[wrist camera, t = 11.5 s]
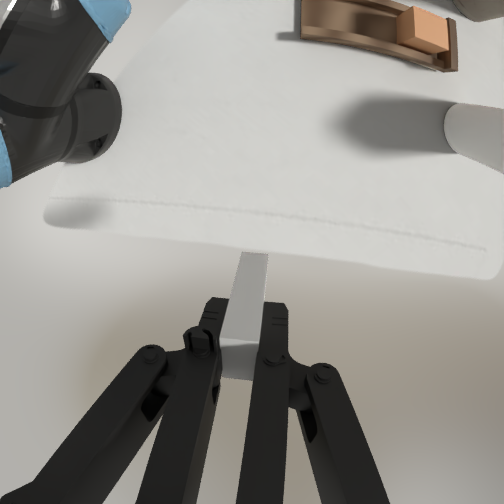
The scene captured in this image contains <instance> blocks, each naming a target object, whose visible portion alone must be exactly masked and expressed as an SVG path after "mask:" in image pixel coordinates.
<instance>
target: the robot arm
mask: <svg viewBox="0 0 504 504" xmlns="http://www.w3.org/2000/svg"><path fill="white" fill-rule="evenodd" d="M130 13H131V4H130V2H129V0H0V188H3V187H8V186H9V185H10V184H12V183H14V182H15V181H17V180H19V179H21V178H23V177H25V176H27V175H29V174H31V173H33V172H35V171H38V170H40V169H42V168H44V167H46V166H49V165H51V164H53V163H55V162H70V163H83V162H87V161H90V160H92V159H95V158H97V157H99V156H101V155H102V154H103V153H105V152H106V151H107V150H108V148H109V147H110V146H111V145H112V143H113V142H114V140H115V138H116V136H117V133H118V131H119V127H120V123H121V116H122V106H121V99H120V96H119V93H118V90H117V88H116V87H115V85H114V84H113V82H112V81H111V80H110V79H109V78H107V77H106V76H104V75H102V74H98V73H88V72H89V70H90V69H91V67H92V66H93V65H94V63H95V61H96V60H97V59H98V57H99V56H100V55H101V53H102V52H103V51H104V49H105V48H106V47H107V45H108V44H109V43H111V42H112V41H113V37H114V35H115V34H116V33H117V31H118V30H119V29H120V28H121V26H122V25H123V24H124V22H125V21H126V20H127V19H128V17H129V15H130ZM267 264H268V254H262V253H250V252H242V253H241V257H240V261H239V265H238V268H237V272H236V276H235V280H234V284H233V287H232V291H231V295H230V299H225V298H216V297H212V298H211V299H210V300H209V301H208V302H207V303H206V306H205V308H204V312H203V314H202V317H201V320H200V322H199V325H198V326H195V327H192V328H190V329H188V330H187V331H186V332H185V333H184V334H183V339H184V343H185V348H184V349H182V350H178V351H170V352H169V351H168V352H165V351H164V349H163V348H162V347H160V346H158V345H146V346H144V347H142V348H141V349H139V350H138V351H137V353H136V354H135V355H134V356H133V357H132V358H131V359H130V361H129V362H128V363H127V364H126V366H125V367H124V368H123V369H122V370H121V371H120V373H119V374H118V375H117V376H116V377H115V379H114V380H113V381H112V382H111V384H110V385H109V386H108V387H107V388H106V389H105V391H104V392H103V393H102V394H101V396H100V397H99V398H98V399H97V400H96V402H95V403H94V404H93V405H92V407H91V408H90V409H89V410H88V411H87V413H86V414H85V415H84V416H83V418H82V419H81V420H80V421H79V423H78V424H77V425H76V426H75V428H74V429H73V430H72V431H71V433H70V434H69V435H68V436H67V438H66V439H65V440H64V441H63V443H62V444H61V445H60V447H59V448H58V449H57V450H56V452H55V453H54V454H53V456H52V457H51V458H50V459H49V461H48V462H47V463H46V465H45V466H44V467H43V469H42V470H41V471H40V472H39V474H38V475H37V476H36V478H35V479H34V480H33V481H32V482H30V483H28V484H26V485H24V486H22V487H20V488H18V489H16V490H14V491H12V492H10V493H7V494H5V495H4V496H2V497H1V499H0V504H102V503H103V502H104V501H105V499H106V498H107V496H108V495H109V493H110V492H111V490H112V489H113V487H114V486H115V484H116V483H117V482H118V480H119V479H120V477H121V476H122V474H123V473H124V471H125V470H126V468H127V467H128V465H129V464H130V463H131V461H132V460H133V458H134V457H135V455H136V454H137V452H138V451H139V449H140V448H141V446H142V445H143V443H144V442H145V440H146V438H147V437H148V436H149V434H150V433H151V431H152V430H153V428H154V427H155V425H156V424H157V422H158V421H159V419H160V417H161V416H162V415H163V417H162V420H161V423H160V426H159V429H158V432H157V435H156V438H155V442H154V444H153V448H152V451H151V454H150V457H149V460H148V464H147V467H146V471H145V474H144V477H143V481H142V484H141V487H140V490H139V494H138V497H137V500H136V503H135V504H196V502H197V497H198V492H199V488H200V483H201V478H202V473H203V468H204V463H205V459H206V454H207V449H208V444H209V440H210V434H211V430H212V425H213V421H214V416H215V411H216V406H217V402H218V397H219V392H220V379H221V374H222V377H226V378H234V379H242V380H251V381H253V385H252V393H251V401H250V408H249V416H248V423H247V430H246V437H245V444H244V445H245V446H244V452H243V458H242V465H241V472H240V479H239V486H238V492H237V499H236V504H283V495H284V481H285V465H286V448H287V428H288V407H290V408H293V409H296V412H297V416H298V419H299V423H300V426H301V430H302V434H303V437H304V441H305V444H306V448H307V452H308V455H309V459H310V463H311V466H312V470H313V474H314V477H315V481H316V485H317V488H318V492H319V496H320V499H321V503H322V504H390V502H389V500H388V497H387V494H386V491H385V488H384V486H383V483H382V480H381V477H380V475H379V472H378V469H377V467H376V464H375V462H374V459H373V456H372V454H371V451H370V448H369V446H368V443H367V441H366V438H365V436H364V433H363V431H362V428H361V426H360V423H359V421H358V418H357V416H356V413H355V411H354V408H353V406H352V403H351V401H350V398H349V396H348V394H347V391H346V389H345V386H344V384H343V382H342V379H341V377H340V374H339V373H338V371H337V369H336V368H334V367H333V366H332V365H330V364H326V363H317V364H314V365H312V366H311V367H309V366H305V365H302V364H300V363H298V362H296V361H295V360H293V359H292V357H291V356H290V354H289V352H288V309H287V307H286V306H285V304H284V303H275V302H264V300H265V290H266V278H267V277H266V276H267Z"/></svg>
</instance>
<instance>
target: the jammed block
mask: <svg viewBox="0 0 504 504" xmlns="http://www.w3.org/2000/svg"><path fill="white" fill-rule="evenodd" d="M396 26H397V45H400V46H403V47H406V48H409V49H412V50H415V51H418V52H421V53H424V54H426V55H430V54H434V53H439V52H443V51H448V50H449V46H448V29H447V20H446V19H444V18H442V17H439V16H437V15H435V14H433V13H430V12H428V11H426V10H423V9H421V8H418V7H415V6H412V7H411V8H409V9H407V10H406V11H404V12H403V13H401V14H400V15H398V16H397V17H396Z"/></svg>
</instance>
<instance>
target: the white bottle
mask: <svg viewBox="0 0 504 504" xmlns="http://www.w3.org/2000/svg"><path fill="white" fill-rule="evenodd" d="M444 132H445V136H446V139H447V141H448V144H449V145H450V146H451V148H452V149H453V150H454V151H456V152H457V153H458V154H460V155H463V156H465V157H468V158H470V159H472V160H475V161H477V162H479V163H481V164H484V165H486V166H488V167H490V168H492V169H494V170H496V171H498V172H500V173H502V174H504V109H500V108H494V107H488V106H481V105H473V104H465V103H457V104H455V105H453V106H451V107H450V109H449V110H448V111H447V113H446V116H445V119H444Z"/></svg>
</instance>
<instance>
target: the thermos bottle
mask: <svg viewBox="0 0 504 504" xmlns="http://www.w3.org/2000/svg"><path fill="white" fill-rule="evenodd" d="M452 1H453V3H454V4H455V6H456V7H457V8H458V9H459V11H460V12H461V13H462V14H463V15H465V16H466V17H467V18H469V19H470V20H472V21H475V22H482V21H486V20H491V19H495V18H500V17H504V0H452Z"/></svg>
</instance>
